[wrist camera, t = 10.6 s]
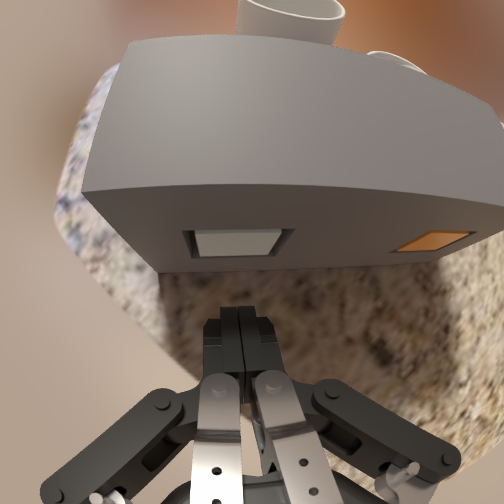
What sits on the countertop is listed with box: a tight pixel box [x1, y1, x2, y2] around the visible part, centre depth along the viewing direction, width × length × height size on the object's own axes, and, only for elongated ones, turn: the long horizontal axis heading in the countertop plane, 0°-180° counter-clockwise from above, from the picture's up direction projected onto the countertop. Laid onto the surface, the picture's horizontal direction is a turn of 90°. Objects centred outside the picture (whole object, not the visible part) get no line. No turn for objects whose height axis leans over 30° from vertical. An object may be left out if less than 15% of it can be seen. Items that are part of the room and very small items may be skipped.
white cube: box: [195, 229, 282, 256], centre depth 14 cm, size 4×4×4 cm
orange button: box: [396, 230, 469, 251], centre depth 15 cm, size 4×4×4 cm
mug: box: [236, 0, 345, 46], centre depth 18 cm, size 10×7×12 cm, turn 165°
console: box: [81, 35, 504, 273], centre depth 15 cm, size 22×8×12 cm, turn 93°
